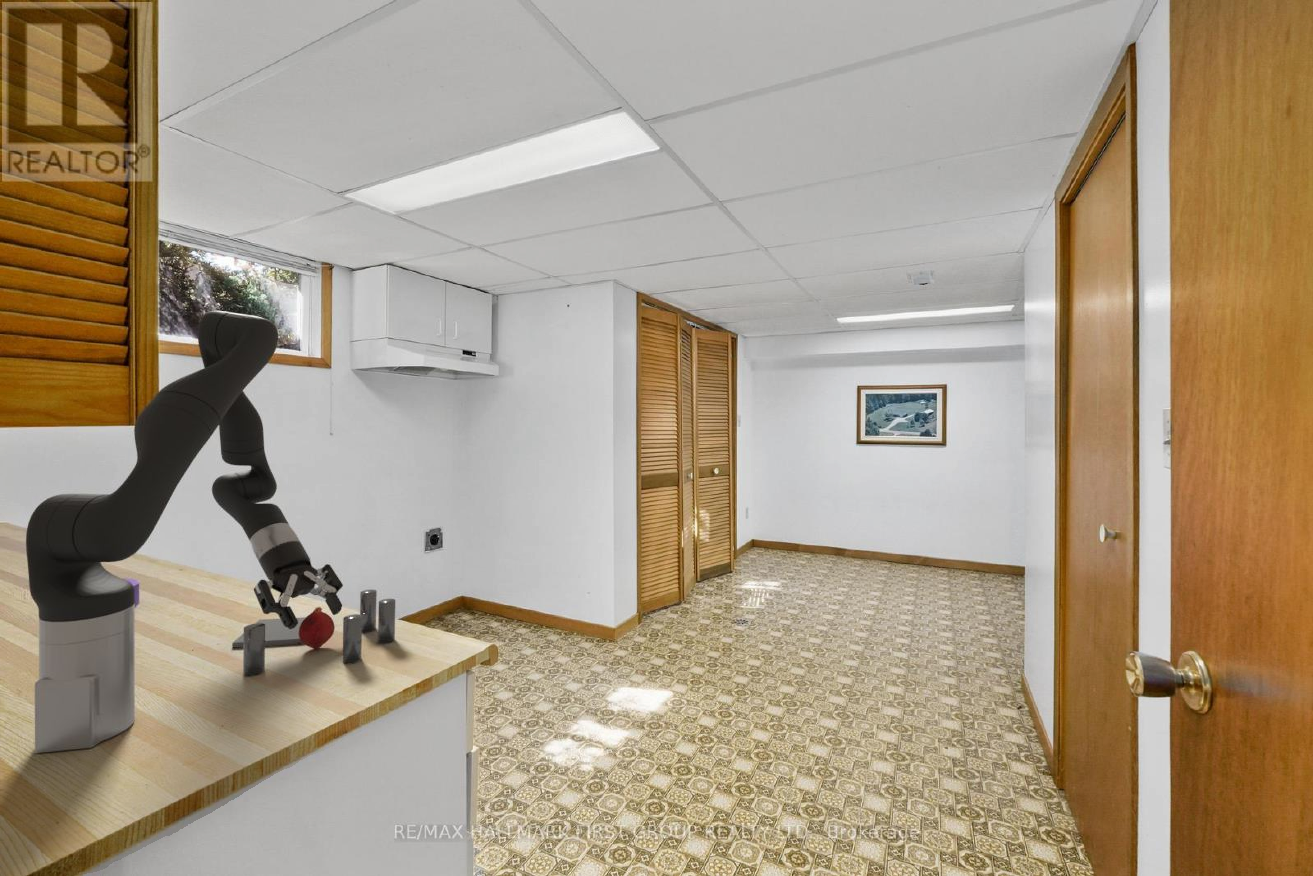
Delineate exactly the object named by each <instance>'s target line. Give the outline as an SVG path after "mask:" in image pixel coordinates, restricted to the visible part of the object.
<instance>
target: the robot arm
mask: <svg viewBox="0 0 1313 876" xmlns="http://www.w3.org/2000/svg"><path fill="white" fill-rule="evenodd" d="M197 343H198V347H199V352H200V357H201V359H202V364H203V367H204V368H202V369H199V370H196V371H194V372H193V373H190V374H187V375H185V376H183V377H180V378H178V379H176V380H174V381H172V382H170V383H168V384H167V385H165V386H164V387H162V388H161V389H160V390H159V391H158V392H157V394H156V395H155V396H154V397H153V398H152V399H151V400H150V401H149V403H148V404H147V405H146V406H145V407H144V408H143V409H142V411H140V413H139V415H138V416H137V418H136V420H135V424H134V429H133V433H134V443H135V449H136V456H137V458H136V459H137V460H136V464H135V465H134V467H133V469H132V471H131V472H129V475H128V476H127V477H126V478H125V480H124V481H123V483H121V485H120V486H119V487H118V488H117V489H116V490H115V491H113V492H112V493H109V494H107V493H62V494H61V493H60V494H56V495H53V496H51V497H48V498H46V499H45V500H44V501H42V502H41V503H40V504H38V505H37V507H36V508H35V509H34V511H33V512H32V514H31V515H30V518H29V520H28V524H27V528H26V535H25V547H26V549H25V551H26V562H27V572H28V573H27V574H28V585H29V593H30V597H31V599H32V600H33V602H34V603H35V605H36V606H37V608H38V680H36V682H35V683H34V753H35V754H39V753H50V752H60V751H71V750H79V749H80V750H81V749H91V748H93V747H95V746H97V744H99V743H102V742H103V741H106V740H108V739H111V738H113V737H115V736H117V735H119V734H121V733H123V732H124V731H126V730H127V729H128V728H130V727H131V726H132V725H133V723H134V722H135V719H136V716H135V715H136V714H135V713H136V711H135V708H136V705H135V703H136V702H135V698H136V697H135V695H136V693H135V689H136V688H135V686H136V683H135V676H136V675H135V671H136V670H135V668H136V667H135V666H136V665H135V662H136V661H135V660H136V659H135V655H136V654H135V649H136V645H135V644H136V643H135V635H136V633H135V632H136V631H135V626H136V625H135V623H136V619H135V618H136V612H135V611H136V606H135V589H134V586H133V585H132V584H131V583H130V582H128V581H126V580H124V579H122V578H121V577H119V576H117V575H114V574H113V573H111V572H109V570H107V569H106V568H105V567H104V566H103V564H102V563H115V562H120V561H124V560H127V559H128V558H130V557H132V556H133V555H135V554H136V553H137V552H138V551H139V550H140V549H142V547H143V546H144V545H145V544H146V542H147V541H148V540H149V538H150V537H151V534H153V531H154V530H155V528H156V526H157V524H158V522H159V520H160V518H161V516H162V515H163V513H164V511H165V509H166V507H167V505H168V503H169V501H170V500H171V497H172V496H173V494H174V492H175V491H176V488H177V487H178V485H179V483H180V482H181V480H182V479H183V477H184V475H185V474H186V472H187V471H188V469H189V468H190V466H191V465H192V463H193V462H194V460H195V459H196V457H197V456H198V454H199V453H200V451H201V450H202V449H203V448H204V446H205V445H206V444H207V442H208V441H209V440H210V438H211V437H212V435H213V434H214V433H215V431H216V429H217V428H219V432H218V433H219V442H220V454H221V455H220V456H221V459H222V461H223V462H224V463H225V464H228V465H232V466H241V467H242V466H245V467H246V466H248V467H249V466H250V469H249V470H243V471H237V472H234V473H233V472H232V473H227V474H223V475H221V476H218V477H217V478H216V479H215V480H214V481H213V483H212V486H211V493H212V496H213V498H214V501H215V502H216V503H217V505H218V506H219V507H221V509H223V511H225V512H226V513H227V514H228V515H229V516H230V517H231V518H233V520H235V522H237V524H239V526H241V527H242V529H243V531H244V533H245V534H246V535H245V536H246V537H247V538H248V541H249V543H250V545H251V548H252V551H253V554H254V555H255V557H256V559H257V561H258V563H259V565H260V567H261V568H262V569H261V570H263V573H264V574H265V576H266V578H267V580H268V581H267V580H265V579H260V580H259V581H258V582H257V584H256V585H255V586H254V588H253V593H254V594H255V597H256V599H257V601H258V603H259V605H260V608H261V610H262V613H263V614H265V615H269V614H273V613H274V614H277V615H278V617H279V619H281V621H282V623H283V625H284V626H285V627H288V628H289V629H293V628H295V627H296V625H297V624H298V620H297V618H298V617H296V615H295V613H294V611H293V609H292V607H291V606H290V605H289V602H290V599H294V598H297V597H299V596H306V595H309V594H311V595H313V596H319V597H320V598H323V599H325V600H324V601H325V603H326V605H327V606H328V608H329V611H330V613H331V614H332V615H333V616H336V615H338V614H339V613H340V612H341V611H342V608H343V604H342V601H341V600H340V598H339V597H338V592H339V591H340V590H341V589H342V588H343V586H344V584H343V583H342V581H341V579H340V578H339V577H338V575H337V574H336V572H335V570H334V569H333V568H332V566H331V565H330V564H329V563H326V564H325V565H324V566H323V567H321V568H317V569H316V568H315V567H313V566H312V563H311V558H310V556H309V554H308V553H307V551H306V549H305V547H304V546H303V544H302V542H301V541H300V538H299V537H298V535H297V533H296V532H295V530H294V529H293V528H292V527H291V526H290V524H289V522H288V520H287V518H286V516H285V515H284V513H283V511H282V509H281V508H280V507H279V506H278V505H277V504H275V503H267V502H266V501H268V500H271V499H272V498H273V497H274V496H275V494H276V492H277V489H278V485H277V481H276V479H275V476H274V474H273V472H272V470H271V467H270V465H269V461H268V460H267V455H266V452H265V440H264V439H265V436H264V425H263V421H262V418H261V415H260V413H259V412H258V410H257V408H256V407H255V406H254V404H253V403H252V401H251V400H250V399H249V398H248V396H247V395H246V393H245V392H244V390H245V389H246V387H247V386H248V385H250V383H251V382H252V380H254V379H255V377H257V375H259V373H260V372H261V371H262V370H263V369H264V368H265V367H266V365H267V364H268V363H269V362H270V360H271V359H272V357H273V356H274V354H275V352H276V350H277V347H278V343H279V332H278V329H277V327H276V325H275V324H274V323H273V322H272V321H270V320H269V319H267V318H264V317H260V316H257V315H252V314H251V315H250V314H244V313H237V312H231V311H224V310H223V311H222V310H210V311H207V312H206V313H205V314H203V316H202V317H201V318H200V321H199V323H198V327H197ZM262 502H264V503H262ZM265 502H266V503H265ZM316 585H317V587H315V586H316ZM272 590H274V591H276V592H278V593H279V596H278V598H277V600H275V597H274V595H273V592H272ZM288 605H289V606H288Z"/></svg>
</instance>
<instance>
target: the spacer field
mask: <svg viewBox="0 0 1313 876" xmlns="http://www.w3.org/2000/svg"><path fill="white" fill-rule="evenodd" d="M359 596H360V597H359V599H360V601H359V614H358V613H354V614H349V615H346V616H344V617H343V619H342V620H343V625H342V627H343V629H342V663H343V664H347V665H348V663H352V664H355V663H354V662H356V661H359V660H360V659H361V660H362V641H363V639H362V638H363V637H362V635H363V633H371V632H374V631H375V630H376V629H377V643H378V644H382V645H383V644H385V645H386V644H390V643H394V642H395V639H396V638H395V635H396V633H395V632H396V599H394V598H383V599H380V600H379V601H378V617H377V596H378V595H377V590H376V589H365V590H362V591H360V593H359ZM363 613H365V614H363ZM377 618H378V619H377ZM377 620H378V622H377ZM377 625H378V627H377ZM243 633H244V647H243V657H242V658H243V663H242V666H243V667H242V669H243V670H242V672H243V673H242V674H244V675H246V676H245V677H253V676H252V675H254V676H258V675H260V674H259V673H261V674H263V673H264V672H265V671H264V670H266V669H265V668H266V646H265V624H263V623H257V624H255V623H252V624H248V625H246V626H244V627H243ZM361 660H360V661H361ZM360 661H359V662H360ZM356 663H357V662H356ZM263 671H264V672H263ZM262 672H263V673H262ZM257 674H258V675H257ZM244 675H243V676H244Z"/></svg>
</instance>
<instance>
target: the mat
mask: <svg viewBox="0 0 1313 876" xmlns="http://www.w3.org/2000/svg"><path fill="white" fill-rule="evenodd" d="M306 617H307V616H304V617H303V616H301V617H296V618H297V620H298V624H297V625H296V627H295V628H293V629H289V628H288V627H285V626H284V625H283V623H282V621H281V619H280V618H268V619H266V618H265V619H264V618H263V619H258V620H257V622H255V623H254V624H257V623H263V624H265V647H269V646H270V647H272V646H284V645H285V646H286V645H287V646H288V645H299V644H298V643H302V642H301V640H300V639H299V634H298V633H299V627H300V625H301V623H302V621H303V620H304V619H305V618H306ZM232 647H241V648H244V632H243V633H242V634H241V635H240V636H239V637H237V638H236V639H235V640H234V641H233V642H232V646H231V648H232Z"/></svg>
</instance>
